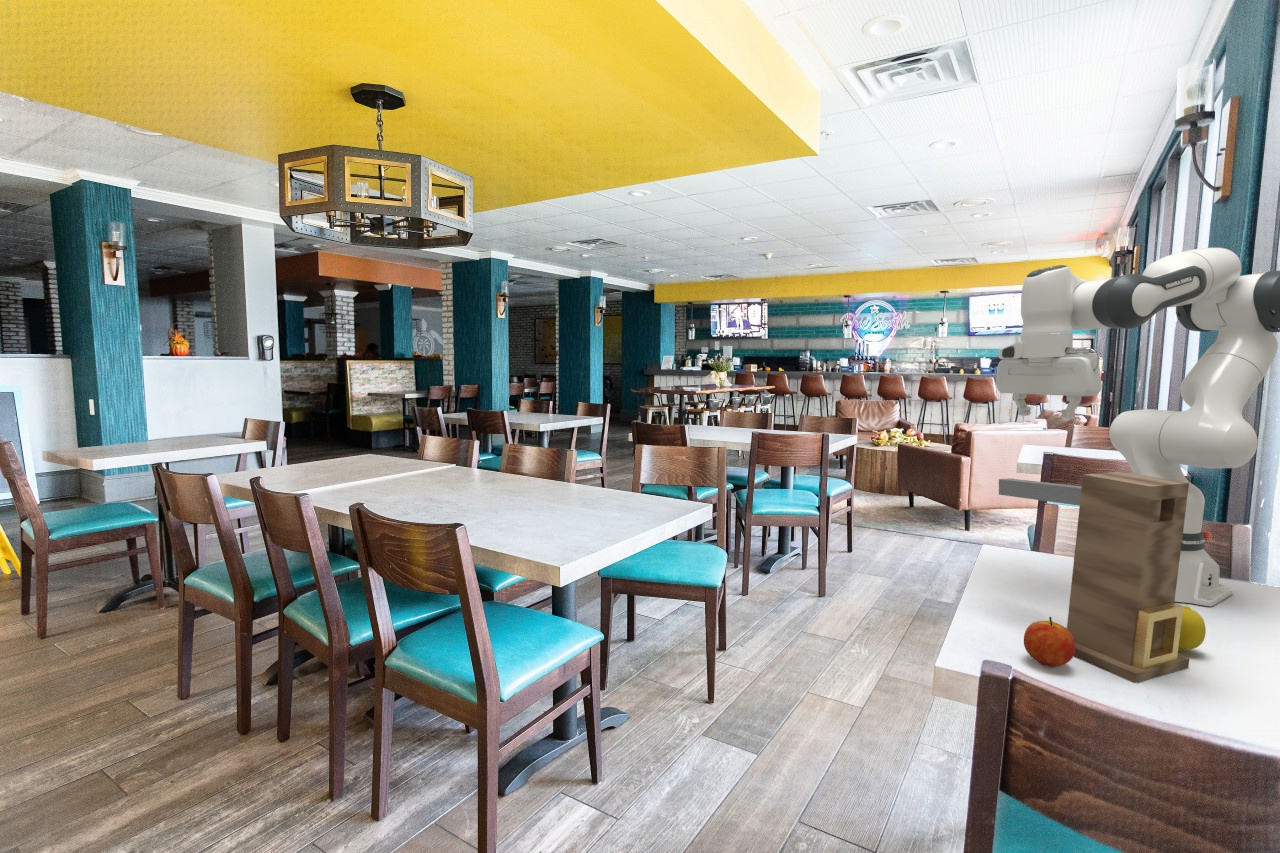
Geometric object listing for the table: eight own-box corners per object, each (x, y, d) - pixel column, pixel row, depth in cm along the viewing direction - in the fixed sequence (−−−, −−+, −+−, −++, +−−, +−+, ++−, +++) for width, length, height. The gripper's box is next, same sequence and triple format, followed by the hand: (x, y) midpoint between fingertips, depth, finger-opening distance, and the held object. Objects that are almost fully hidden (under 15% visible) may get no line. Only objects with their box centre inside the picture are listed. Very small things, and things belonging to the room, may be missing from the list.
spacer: (1166, 656, 103) (1172, 602, 102) (1176, 660, 102) (1183, 606, 101) (1131, 665, 99) (1138, 610, 98) (1142, 669, 98) (1149, 613, 97)
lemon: (1210, 660, 105) (1216, 614, 104) (1172, 656, 106) (1178, 610, 105) (1189, 645, 110) (1194, 601, 110) (1153, 642, 112) (1158, 598, 111)
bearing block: (1097, 632, 115) (1115, 469, 112) (1188, 667, 102) (1211, 484, 99) (1045, 644, 110) (1062, 473, 106) (1135, 683, 97) (1158, 490, 93)
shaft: (1009, 493, 124) (1009, 478, 124) (1150, 512, 102) (1151, 493, 102) (998, 494, 123) (998, 479, 123) (1139, 513, 101) (1139, 495, 101)
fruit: (1043, 652, 107) (1047, 606, 106) (1083, 671, 100) (1088, 623, 99) (1011, 657, 104) (1016, 610, 104) (1050, 677, 98) (1055, 627, 97)
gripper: (1110, 345, 119) (1108, 419, 121) (1013, 349, 138) (1012, 412, 140) (1086, 347, 117) (1085, 422, 119) (991, 350, 136) (991, 415, 138)
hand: (1045, 416), depth 129 cm, fingers open, 8 cm apart
